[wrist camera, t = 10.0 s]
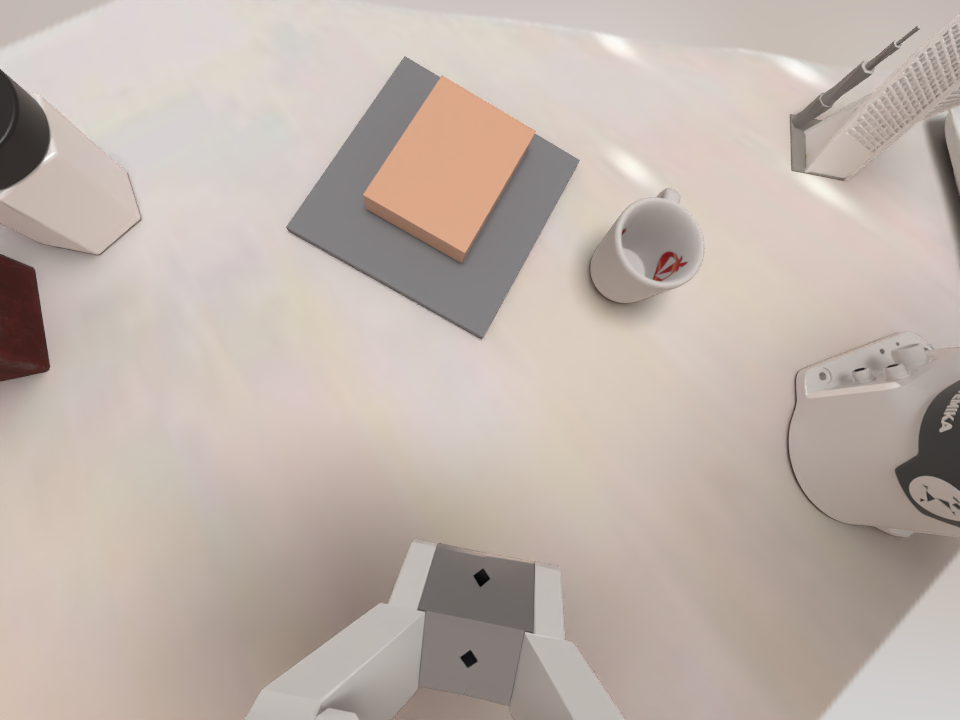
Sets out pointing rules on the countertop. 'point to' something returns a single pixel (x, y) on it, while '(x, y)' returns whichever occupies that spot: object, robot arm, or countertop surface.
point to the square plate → (954, 141)
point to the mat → (406, 259)
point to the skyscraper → (877, 108)
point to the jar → (58, 177)
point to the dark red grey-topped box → (20, 322)
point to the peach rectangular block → (449, 169)
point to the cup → (648, 250)
